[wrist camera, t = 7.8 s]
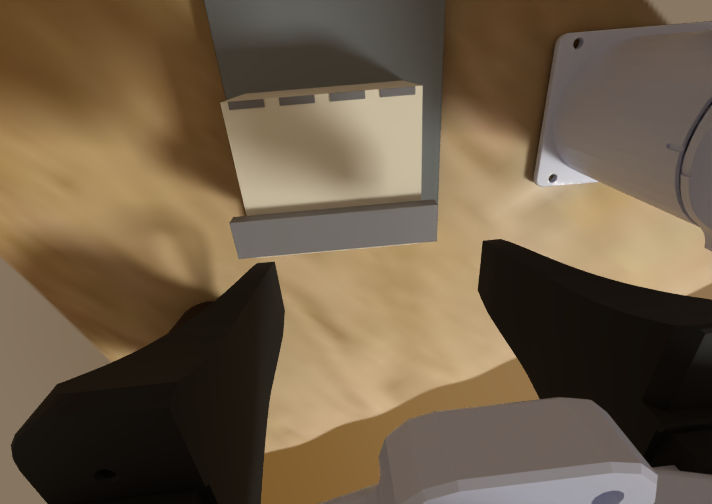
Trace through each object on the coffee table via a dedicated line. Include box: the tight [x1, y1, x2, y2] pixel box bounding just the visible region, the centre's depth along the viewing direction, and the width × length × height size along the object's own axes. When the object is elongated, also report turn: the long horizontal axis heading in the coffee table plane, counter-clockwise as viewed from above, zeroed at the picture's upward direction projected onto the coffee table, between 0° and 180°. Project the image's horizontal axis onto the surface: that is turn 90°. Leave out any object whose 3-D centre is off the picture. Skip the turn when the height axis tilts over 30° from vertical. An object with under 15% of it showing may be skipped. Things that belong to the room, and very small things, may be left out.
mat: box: [204, 0, 445, 204], centre depth 17 cm, size 11×22×1 cm, turn 4°
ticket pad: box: [220, 80, 438, 259], centre depth 17 cm, size 9×7×5 cm
